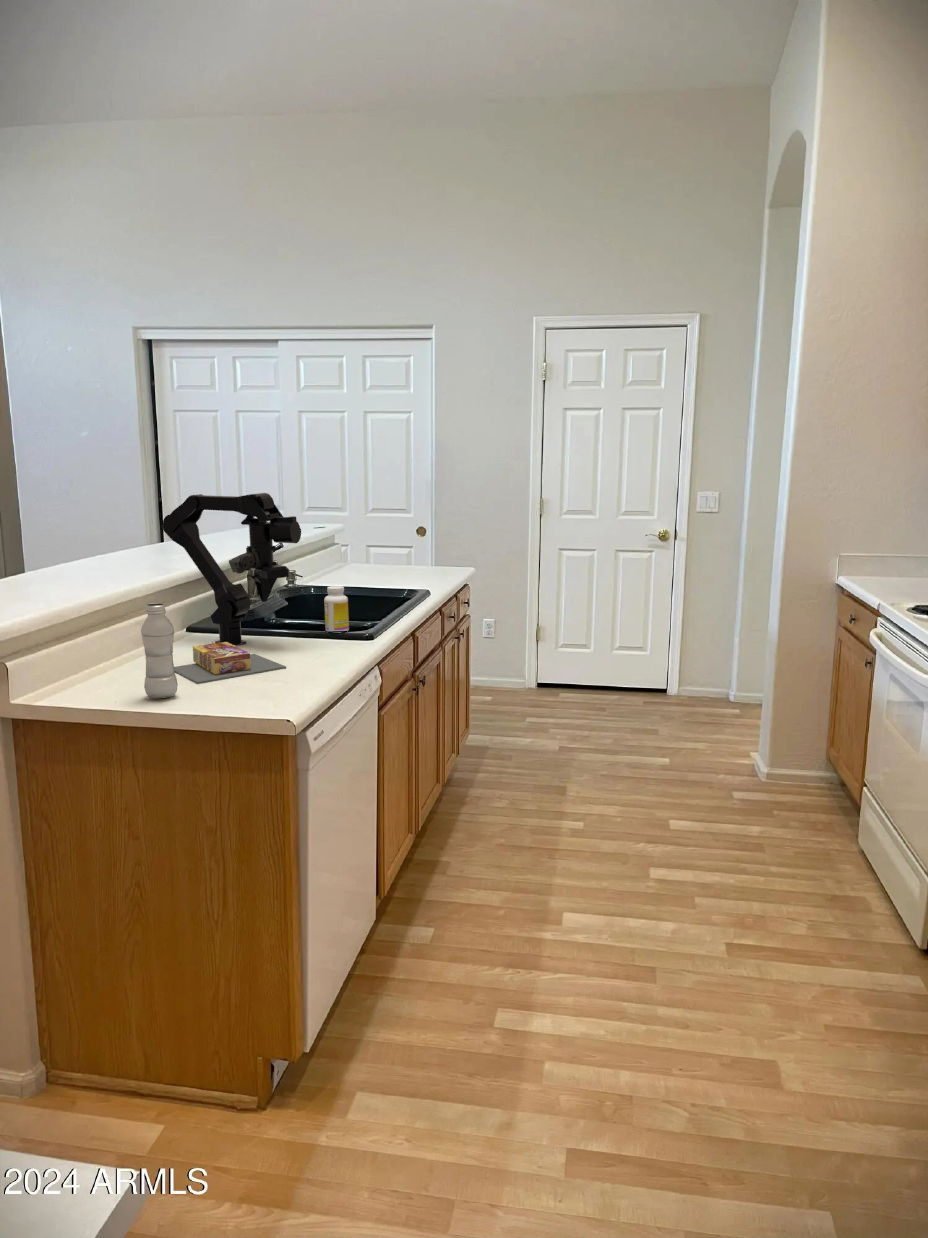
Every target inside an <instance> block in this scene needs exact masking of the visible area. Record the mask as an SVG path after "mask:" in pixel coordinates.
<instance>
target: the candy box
mask: <svg viewBox="0 0 928 1238" xmlns="http://www.w3.org/2000/svg"><path fill="white" fill-rule="evenodd" d="M250 654H251V652H248V651H246V650H244V649H243V648H240V647H238V646H237V645H232V644H230V643H228V642H222V643H215V642H214V643H208V644H201V645H194V646H192V661H193V662H194V664H195V663H197V664H198V665H200V666H202V667H203V668H205V669H207V670H208V671H210V672H212V673H213V674H215V675H217V674H223V673H230V672H236V671H242V670H249V669H251V661H250Z"/></svg>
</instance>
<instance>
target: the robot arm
mask: <svg viewBox="0 0 928 1238" xmlns="http://www.w3.org/2000/svg"><path fill="white" fill-rule="evenodd" d="M204 511H221V512H222V511H223V512H236V513H239V514H241V515H244V516H245V518H244V519H243V520H242V521H241V522H240V524H241V525H243V526H245V525H246V526H247V525H248V529H249V530H248V532H249V545H247V546H246V548H245V549H246V551H245V553H244V552H243V553H241V554H240V555H237V556H235V557H232V558H230V559H229V560H228V564H229V567H230V569H231V572H232V573H236V574H238V575H240V574H243V573H244V572H245V571H247V572H248V571H249V574H247V576H246V577H248V578H249V579H251V580H252V581H253V582H254V584H255V586H256V589H257V592H258V594H259V595H258V596H259V597H260V600H261V602H263V603H265V602H266V603H267V602H268V598H269V596H270V594H271V592H272V590H273V588H274V585H275V583H276V582H277V579H282V578H289V577H290V568H288V567H287V566H286V565H282V564H277V561H274V551H276V549H277V546H276V545H273V543H277V544H278V543H279V544H298V543H299V542H300V540H301V538H302V529H301V527H300V523H299V522H298V521H297V516H295V515H294V516H283V514H282V513H281V512H280V510H279V508H278V507H277V506H276V504H275V502H274V499H273V496H271V494H270V493H268V492H267V493H266V492H259V493H251V494H244V495H240V496H236V495H235V496H230V495H229V496H228V495H204V494H202V493H201V494H190V495H189V496H188V497H187V498H186V499H185V500H184V501H183V502H182V503H181V504H180V505H178V506H177V507H176V508H175V509H173V511H171V513H170V514H167V515H165V517H164V518H163V521H162V525H161V528H162V530H163V532H164V533H165V534H166V535H167V537H168V538H169V539H170V540H171V541H172V542H174V543H176V544H177V545H179V546H181V547H182V548H183V549H184V551H185V552H186V554H187V555H188V556H189V558H190V559H191V561H192V562H193V563H194V565H195V566H196V568H197V570H199V572H200V573H201V575H202V577H203V578H204V579H205V581H206V582H207V583H208V585H209V587H210V588H211V589H212V590H213V593H214V601H215V604H216V606H217V608H216V609H215V610H214V612H212V614H211V615H210V618H211V621H212V623H213V624H217V625H218V639H219V640H215V641H214V644H215V643H222V642H228V643H230V644H232V645H234V646H238V645H244V644H247V641H246V640H243V639H242V628H241V627H242V625H241V620H244V619H246V618H247V614H248V612H249V611H250V608H251V603H252V601H251V598H250V596H251V595H250V593H248V592H247V590H245V588H244V585H242V583H236V584H234V583H233V582H231V581H230V580H229V579H228V577H227V575H226V574H225V572H224V571H223V569H222V568H221V567H220V565H219V563H217V561H216V559H215V558H214V557H213V555H212V553H210V551H209V550H208V548H207V547H206V545H205V544H204V543H203V541H202V539H201V537H200V529H199V527H198V525H197V523H198V522H199V520H200V519H201V518H202V517H201V516H202V515H203V512H204Z"/></svg>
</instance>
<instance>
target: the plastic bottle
mask: <svg viewBox="0 0 928 1238" xmlns="http://www.w3.org/2000/svg"><path fill="white" fill-rule="evenodd" d="M145 610H146V611H145V615H147V617H146V618H145V620H144V621H143V623H142V625H141V628H140V633H141V634H140V635H141V638H142V644H143V648H144V655H145V677H144V684H143V685H144V691H145V694H146V696H147V697H148V698H151V699H165V698H166V699H167V698H170V697H173V696H175V694H176V693H177V691H178V685H179V684H178V679H177V675H176V674H175V670H174V667H175V666H174V665H175V664H174V655H173V653H174V651H173V650H174V636H175V635H174V634H175V627H174V625H173V622H171V620H170V619H169V618H168V616H166V615H165V614H167V610H166V605H165V603H164V602H163V603H162V602H153V603H147V604H146V605H145Z"/></svg>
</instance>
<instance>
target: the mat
mask: <svg viewBox="0 0 928 1238" xmlns="http://www.w3.org/2000/svg"><path fill="white" fill-rule="evenodd" d="M250 661H251V669H249V670H242V671H236V672H230V673H223V674H217V675H215V674H213V673H212V672H210V671H208V670H207V669H205V668H203V667H202V666H200V665H198V664H197V663H195V662H194V663H190V664H183V665H176V666H174V670H175V673H176V674H178V675H179V676H182V677H183V678H185V679H188V680H189V681H190V682H192V683H194V684H196V685H199V684H205V683H210V682H218V681H222V680H226V679H227V680H228V679H232V678H233V679H234V678H238V677H243V676H244V677H245V676H249V675H255V674H262V673H267V672H273V671H278V670H285V669H287V665H283V664H281V663H279V662H276V661H273V660H271V659H269V658H266V657H264V656H261V655H259V654H256V653H252V654H251V653H250Z"/></svg>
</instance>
